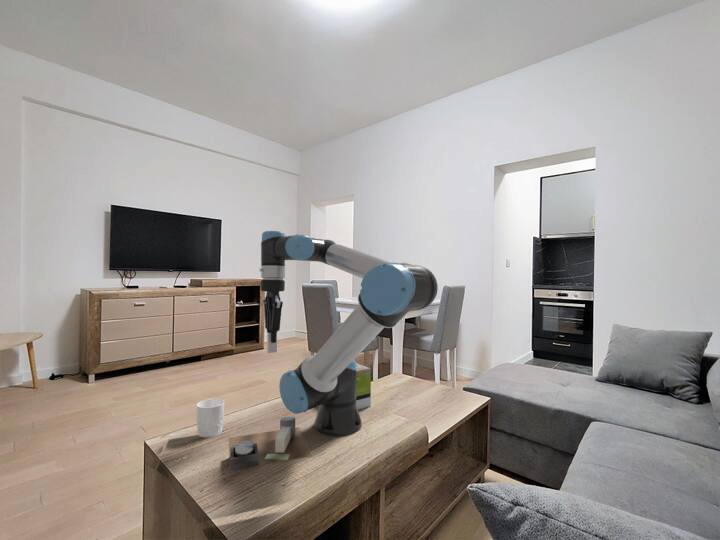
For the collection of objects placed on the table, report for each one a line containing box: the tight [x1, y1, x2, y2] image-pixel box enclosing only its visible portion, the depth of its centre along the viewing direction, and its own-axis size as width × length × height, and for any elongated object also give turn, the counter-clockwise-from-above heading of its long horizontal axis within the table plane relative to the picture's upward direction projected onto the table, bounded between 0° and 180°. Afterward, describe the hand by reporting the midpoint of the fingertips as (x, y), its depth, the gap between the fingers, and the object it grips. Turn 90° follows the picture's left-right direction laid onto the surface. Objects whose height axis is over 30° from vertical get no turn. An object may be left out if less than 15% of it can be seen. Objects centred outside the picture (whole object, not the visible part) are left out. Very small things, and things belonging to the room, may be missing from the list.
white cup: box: [195, 398, 226, 438], centre depth 103 cm, size 8×8×10 cm
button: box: [235, 441, 253, 457], centre depth 87 cm, size 4×4×3 cm
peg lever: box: [275, 416, 296, 452], centre depth 96 cm, size 12×4×5 cm, turn 0°
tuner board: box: [229, 426, 313, 472], centre depth 95 cm, size 20×18×4 cm
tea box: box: [356, 362, 372, 411], centre depth 131 cm, size 15×10×15 cm, turn 35°
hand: (271, 352), depth 109 cm, fingers closed
